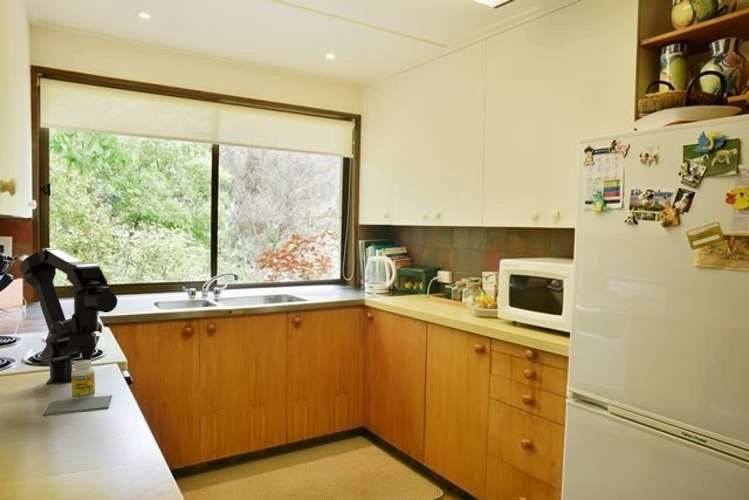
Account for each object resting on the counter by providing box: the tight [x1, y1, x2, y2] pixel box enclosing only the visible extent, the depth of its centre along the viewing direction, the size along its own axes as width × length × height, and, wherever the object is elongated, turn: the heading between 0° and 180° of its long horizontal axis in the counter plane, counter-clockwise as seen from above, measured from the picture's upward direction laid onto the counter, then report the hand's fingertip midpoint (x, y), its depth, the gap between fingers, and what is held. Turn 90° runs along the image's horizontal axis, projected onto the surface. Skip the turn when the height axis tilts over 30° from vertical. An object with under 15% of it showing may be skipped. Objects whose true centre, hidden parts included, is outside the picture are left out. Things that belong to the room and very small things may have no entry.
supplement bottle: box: [71, 359, 96, 399], centre depth 135 cm, size 5×5×10 cm
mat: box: [42, 394, 113, 417], centre depth 129 cm, size 9×14×1 cm, turn 113°
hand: (86, 363), depth 142 cm, fingers closed
